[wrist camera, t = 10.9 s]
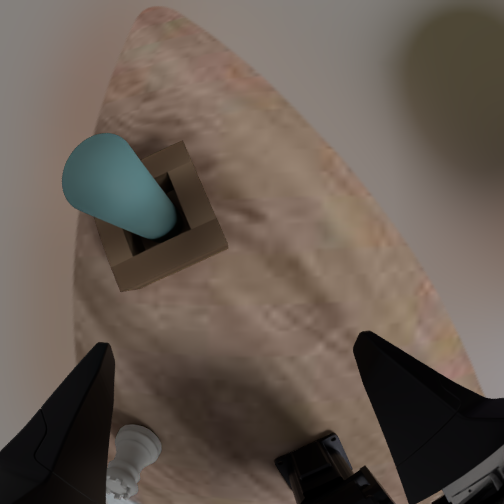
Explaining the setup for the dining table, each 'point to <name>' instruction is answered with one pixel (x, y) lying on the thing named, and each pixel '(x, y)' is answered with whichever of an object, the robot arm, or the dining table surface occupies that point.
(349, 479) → the robot arm
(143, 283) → the walnut hole block
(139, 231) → the teal pin
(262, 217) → the dining table surface
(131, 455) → the rook chess piece
